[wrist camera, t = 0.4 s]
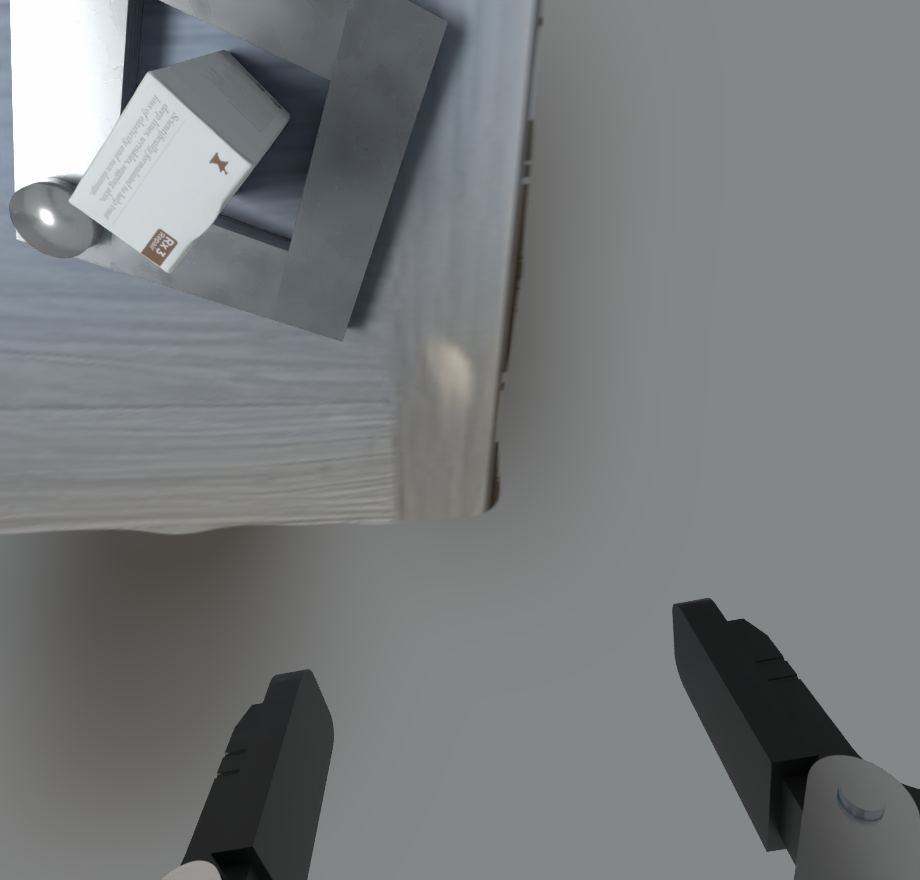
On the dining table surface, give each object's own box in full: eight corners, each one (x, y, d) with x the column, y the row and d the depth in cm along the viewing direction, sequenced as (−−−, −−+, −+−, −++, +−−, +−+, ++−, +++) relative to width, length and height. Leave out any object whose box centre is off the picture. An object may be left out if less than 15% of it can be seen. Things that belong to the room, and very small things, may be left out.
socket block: (34, 228, 31) (0, 248, 28) (31, -204, 22) (-21, -239, 19) (343, 328, 37) (341, 353, 34) (443, 22, 28) (451, 21, 25)
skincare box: (223, 44, 27) (140, 51, 18) (297, 119, 29) (260, 161, 20) (157, 141, 29) (51, 195, 20) (231, 204, 32) (169, 279, 22)
